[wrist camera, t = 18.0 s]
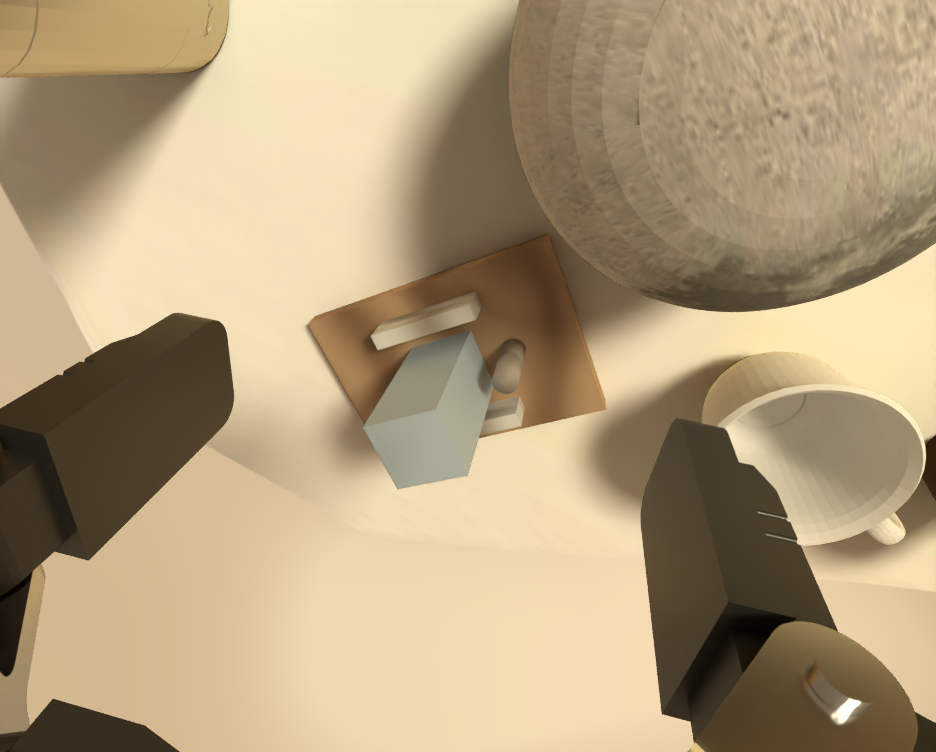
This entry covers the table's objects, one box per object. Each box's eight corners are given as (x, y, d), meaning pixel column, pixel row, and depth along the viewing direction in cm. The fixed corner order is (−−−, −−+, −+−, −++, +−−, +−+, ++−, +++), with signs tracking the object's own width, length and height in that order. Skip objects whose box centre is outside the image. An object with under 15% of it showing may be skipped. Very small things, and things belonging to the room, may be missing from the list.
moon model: (471, 133, 35) (363, 199, 18) (685, -271, 25) (888, -964, 8) (716, 296, 38) (821, 490, 21) (1006, -14, 27) (1694, -136, 10)
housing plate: (390, 449, 50) (365, 497, 45) (315, 316, 45) (276, 352, 39) (605, 399, 43) (607, 448, 38) (548, 234, 38) (541, 264, 32)
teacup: (776, 496, 45) (820, 598, 36) (640, 393, 42) (652, 476, 34) (921, 404, 39) (1014, 500, 30) (770, 278, 36) (825, 344, 28)
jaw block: (437, 399, 45) (397, 489, 35) (412, 347, 43) (362, 427, 33) (494, 385, 43) (467, 475, 34) (470, 329, 41) (435, 409, 31)
